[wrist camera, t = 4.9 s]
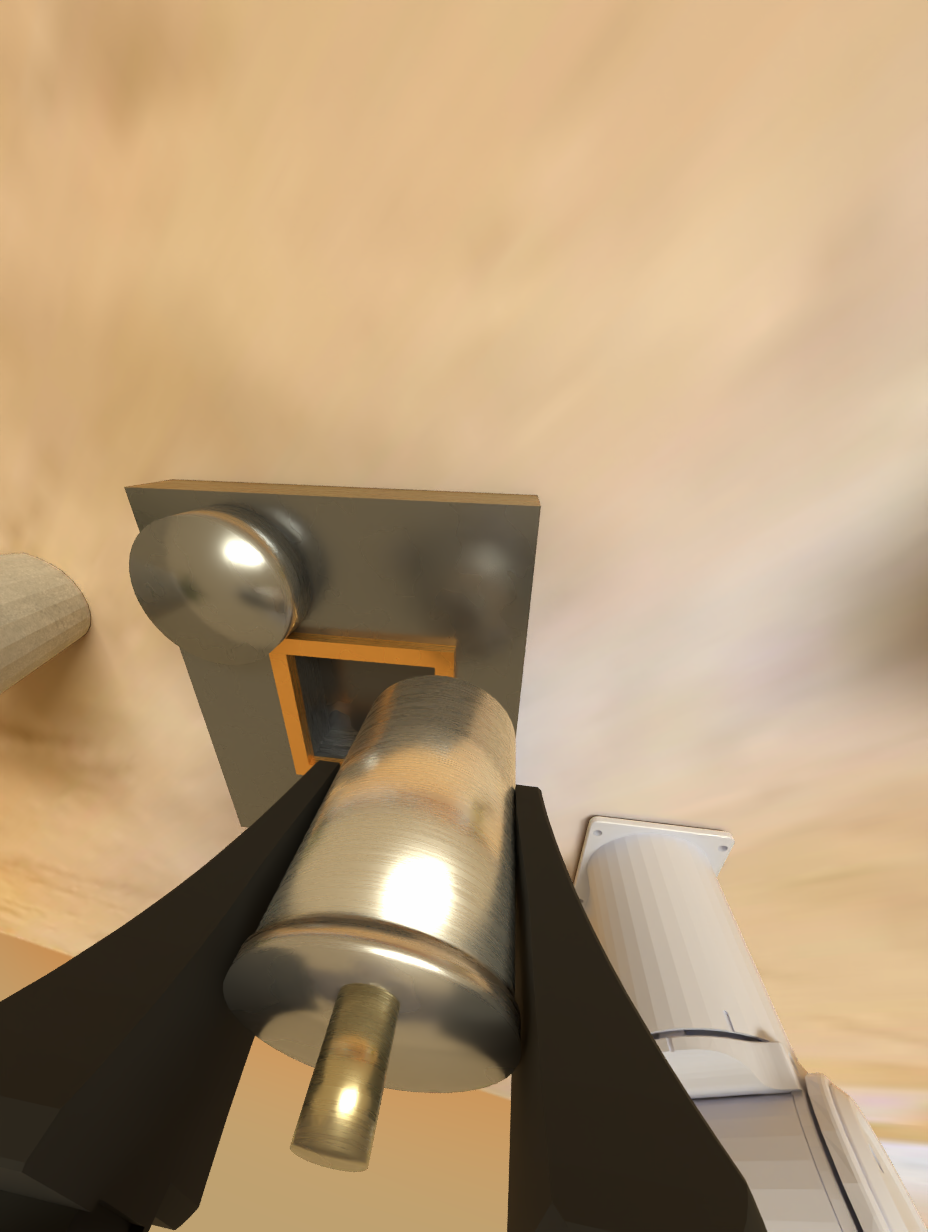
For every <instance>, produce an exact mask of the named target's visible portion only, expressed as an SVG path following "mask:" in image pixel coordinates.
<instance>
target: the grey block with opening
mask: <svg viewBox="0 0 928 1232" xmlns="http://www.w3.org/2000/svg"><path fill="white" fill-rule="evenodd" d="M125 490H126V493H127V496H128V499H129V502H130V505H131V508H132V511H133V514H134V517H135V519H136V522H137V525H138V528H139V531H140V533H139V535H138V536H137V537H136V539H135V541H134V543H133V545H132V549H131V552H130V559H129V572H130V578H131V583H132V586H133V589H134V592H135V594H136V597H137V599H138V601H139V603H140V605H141V606H142V608H143V610H144V611H145V613H146V614H147V616H148V617H149V619H150V620H151V621H152V622H153V623H154V625H155V626H156V627H157V628H158V629H159V630H160V631H161V632H162V633H163V634H164V635H165V636H166V637H167V638H169V639H170V640H171V641H172V642H173V643H175V644H176V645H178V646H179V647H180V650H181V653H182V656H183V659H184V662H185V664H186V667H187V670H188V673H189V676H190V679H191V682H192V685H193V688H194V691H195V694H196V696H197V699H198V702H199V705H200V708H201V711H202V714H203V717H204V720H205V723H206V725H207V728H208V731H209V734H210V737H211V740H212V743H213V746H214V749H215V752H216V754H217V757H218V760H219V763H220V766H221V769H222V772H223V775H224V778H225V781H226V783H227V786H228V789H229V792H230V795H231V798H232V801H233V804H234V807H235V810H236V812H237V815H238V818H239V821H240V824H241V827H250V826H251V825H252V824H253V823H254V822H255V821H256V820H258V819H259V818H260V817H261V816H262V815H263V814H264V813H265V812H266V811H267V810H268V809H269V808H270V807H271V806H273V805H274V804H275V803H276V802H277V801H278V800H279V799H280V798H281V797H282V796H283V795H284V794H285V793H286V792H287V791H288V790H289V789H290V788H291V787H292V786H293V785H294V784H295V783H296V782H297V781H298V780H299V779H300V778H301V777H302V776H303V775H304V774H305V773H306V772H307V771H308V770H309V769H310V768H311V767H312V766H313V765H314V764H315V763H316V762H318V761H319V760H323V761H331V762H339V763H340V767H341V765H342V763H343V761H344V759H345V757H346V755H347V753H348V752H349V750H350V748H351V746H352V744H353V742H354V740H355V738H356V736H357V734H358V732H359V730H360V728H361V726H362V724H363V722H364V721H365V719H366V717H367V715H368V713H369V711H370V709H371V707H372V705H373V703H374V702H375V700H376V699H377V697H378V696H379V695H380V694H381V693H382V692H383V691H384V690H386V689H387V688H388V687H390V686H391V685H393V684H395V683H397V682H399V681H402V680H404V679H407V678H411V677H416V676H423V675H440V676H448V677H453V678H457V679H460V680H463V681H466V682H469V683H471V684H473V685H475V686H477V687H479V688H481V689H482V690H484V691H486V692H487V693H488V694H490V695H491V696H492V697H493V698H495V699H496V700H497V701H498V702H499V703H500V705H501V706H502V707H503V708H504V710H505V711H506V712H507V714H508V716H509V718H510V719H511V722H512V724H513V727H514V731H515V739H516V730H517V721H518V712H519V702H520V693H521V684H522V675H523V665H524V656H525V647H526V638H527V628H528V619H529V610H530V601H531V591H532V582H533V573H534V564H535V554H536V545H537V536H538V527H539V517H540V508H541V506H540V502H539V499H538V496H537V495H519V494H496V493H473V492H450V491H427V490H404V489H381V488H358V487H335V486H312V485H289V484H266V483H243V482H220V481H197V480H174V479H172V480H166V481H160V482H153V483H147V484H141V485H134V486H128V487H125Z"/></svg>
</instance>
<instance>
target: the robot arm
mask: <svg viewBox="0 0 928 1232" xmlns="http://www.w3.org/2000/svg"><path fill="white" fill-rule="evenodd" d="M339 769H340V763H339V762H331V761H323V760H319V761H318V762H316V763H315V764H314V765H313V766H312V767H311V768H310V769H309V770H308V771H307V772H306V773H305V774H304V775H303V776H302V777H301V778H300V779H299V780H298V781H297V782H296V783H295V784H294V785H293V786H292V787H291V788H290V789H289V790H288V791H287V792H286V793H285V794H284V795H283V796H282V797H281V798H280V799H279V800H278V801H277V802H276V803H275V804H274V805H273V806H271V807H270V808H269V809H268V810H267V811H266V812H265V813H264V814H263V815H262V816H261V817H260V818H259V819H258V820H256V821H255V822H254V823H253V824H252V825H251V826H250V827H249V828H248V829H247V830H245V831H244V832H243V833H242V834H241V835H240V836H239V837H237V838H236V839H235V840H234V841H233V842H232V843H230V844H229V845H228V846H227V847H226V848H225V849H224V850H222V851H221V852H220V853H219V854H218V855H216V856H215V857H214V858H213V859H212V860H210V861H209V862H208V863H207V864H206V865H204V866H203V867H202V868H201V869H199V870H198V871H197V872H196V873H194V874H193V875H192V876H190V877H189V878H188V879H187V880H185V881H184V882H183V883H181V884H180V885H179V886H177V887H176V888H175V889H173V890H172V891H171V892H169V893H168V894H167V895H165V896H164V897H163V898H161V899H160V900H158V901H157V902H156V903H154V904H153V905H151V906H150V907H149V908H147V909H146V910H145V911H143V912H142V913H140V914H139V915H138V916H136V917H135V918H133V919H132V920H130V921H129V922H127V923H126V924H125V925H123V926H122V927H120V928H119V929H117V930H116V931H114V932H113V933H111V934H110V935H108V936H106V937H105V938H103V939H102V940H100V941H99V942H97V943H96V944H94V945H93V946H91V947H89V948H88V949H86V950H85V951H83V952H82V953H80V954H79V955H77V956H76V957H74V958H72V959H71V960H69V961H68V962H66V963H65V964H63V965H62V966H60V967H58V968H57V969H55V970H54V971H52V972H50V973H49V974H47V975H46V976H44V977H42V978H40V979H38V980H37V981H35V982H33V983H32V984H30V985H28V986H26V987H25V988H23V989H21V990H20V991H18V992H16V993H14V994H13V995H11V996H9V997H8V998H6V999H4V1000H2V1001H1V1002H0V1232H148V1231H149V1229H150V1227H151V1225H156V1226H160V1227H164V1228H168V1229H172V1230H176V1229H177V1228H178V1227H179V1226H181V1225H182V1224H183V1223H184V1222H185V1221H186V1220H187V1219H188V1218H189V1217H190V1216H191V1215H192V1214H193V1213H194V1212H195V1211H196V1210H197V1208H198V1207H199V1205H200V1202H201V1198H202V1195H203V1191H204V1188H205V1185H206V1182H207V1179H208V1176H209V1172H210V1169H211V1166H212V1163H213V1160H214V1157H215V1154H216V1150H217V1147H218V1144H219V1141H220V1138H221V1135H222V1132H223V1128H224V1125H225V1122H226V1119H227V1116H228V1113H229V1110H230V1107H231V1104H232V1101H233V1098H234V1095H235V1092H236V1089H237V1086H238V1083H239V1080H240V1077H241V1074H242V1071H243V1068H244V1066H245V1063H246V1060H247V1057H248V1054H249V1051H250V1048H251V1045H252V1042H253V1039H254V1037H255V1035H254V1034H253V1033H251V1032H250V1031H249V1030H248V1029H247V1028H246V1027H245V1026H243V1025H242V1023H241V1022H240V1021H239V1020H238V1019H237V1018H236V1017H235V1016H234V1014H233V1013H232V1012H231V1010H230V1009H229V1007H228V1005H227V1003H226V1001H225V998H224V993H223V982H224V979H225V977H226V975H227V973H228V971H229V969H230V967H231V965H232V963H233V961H234V959H235V957H236V956H237V954H238V952H239V950H240V948H241V946H242V944H243V943H244V942H245V941H246V940H247V938H248V937H250V936H251V935H252V934H254V933H255V932H256V930H257V928H258V926H259V924H260V922H261V920H262V918H263V916H264V914H265V912H266V910H267V908H268V906H269V905H270V903H271V901H272V899H273V897H274V895H275V893H276V891H277V889H278V887H279V885H280V883H281V881H282V879H283V877H284V875H285V874H286V872H287V870H288V868H289V866H290V864H291V862H292V860H293V858H294V856H295V854H296V852H297V850H298V848H299V846H300V844H301V843H302V841H303V839H304V837H305V835H306V833H307V831H308V829H309V827H310V825H311V823H312V821H313V819H314V817H315V815H316V813H317V812H318V810H319V808H320V806H321V804H322V802H323V800H324V798H325V796H326V794H327V792H328V790H329V788H330V786H331V784H332V783H333V781H334V779H335V777H336V775H337V773H338V771H339ZM734 842H735V841H734V839H733V837H732V835H731V834H730V833H729V832H725V831H718V830H710V829H701V828H693V827H685V826H676V825H668V824H660V823H651V822H643V821H635V820H626V819H618V818H610V817H601V816H595V817H593V818H591V819H590V821H589V824H588V828H587V833H586V837H585V841H584V845H583V849H582V853H581V857H580V861H579V865H578V869H577V873H576V877H575V881H574V885H573V883H572V881H571V878H570V876H569V873H568V871H567V868H566V866H565V863H564V861H563V858H562V856H561V853H560V851H559V848H558V845H557V843H556V840H555V837H554V834H553V831H552V828H551V825H550V822H549V819H548V816H547V812H546V809H545V805H544V801H543V797H542V792H541V790H540V789H539V788H538V787H531V786H523V785H516V787H515V1001H516V1002H517V1004H518V1007H519V1011H520V1014H521V1058H520V1062H519V1065H518V1066H517V1068H516V1069H515V1070H514V1072H513V1073H512V1079H511V1120H510V1122H511V1123H510V1159H509V1193H508V1224H507V1232H928V1229H927V1227H926V1225H925V1223H924V1222H923V1220H922V1218H921V1216H920V1214H919V1212H918V1210H917V1208H916V1206H915V1205H914V1203H913V1201H912V1199H911V1197H910V1195H909V1193H908V1191H907V1190H906V1188H905V1186H904V1184H903V1182H902V1180H901V1179H900V1177H899V1175H898V1173H897V1171H896V1170H895V1168H894V1166H893V1164H892V1162H891V1161H890V1159H889V1157H888V1155H887V1153H886V1152H885V1150H884V1148H883V1146H882V1145H881V1143H880V1141H879V1139H878V1138H877V1136H876V1134H875V1133H874V1131H873V1129H872V1128H871V1126H870V1124H869V1123H868V1121H867V1119H866V1118H865V1116H864V1115H863V1113H862V1112H861V1110H860V1109H859V1107H858V1106H857V1104H856V1103H855V1102H854V1100H853V1099H852V1098H851V1097H850V1096H849V1095H847V1094H846V1093H845V1092H843V1091H842V1090H841V1089H840V1088H838V1087H837V1086H836V1085H834V1084H833V1083H832V1082H831V1080H830V1079H829V1078H828V1077H827V1076H825V1075H824V1074H822V1073H811V1074H808V1073H807V1071H806V1070H805V1069H804V1068H803V1067H802V1066H801V1064H800V1063H799V1062H798V1060H797V1058H796V1055H795V1053H794V1051H793V1049H792V1046H791V1044H790V1042H789V1040H788V1037H787V1035H786V1033H785V1031H784V1028H783V1026H782V1024H781V1022H780V1019H779V1017H778V1015H777V1013H776V1010H775V1008H774V1006H773V1004H772V1001H771V999H770V997H769V995H768V992H767V990H766V988H765V986H764V983H763V981H762V979H761V976H760V974H759V972H758V970H757V967H756V965H755V963H754V961H753V958H752V956H751V954H750V952H749V949H748V947H747V945H746V943H745V940H744V938H743V936H742V934H741V931H740V929H739V927H738V925H737V922H736V920H735V918H734V916H733V913H732V911H731V909H730V907H729V904H728V902H727V900H726V898H725V895H724V893H723V891H722V889H721V886H720V884H719V882H718V880H717V876H718V874H719V872H720V870H721V868H722V866H723V864H724V862H725V860H726V858H727V857H728V855H729V853H730V851H731V849H732V847H733V845H734Z"/></svg>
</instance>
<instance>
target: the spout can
mask: <svg viewBox="0 0 928 1232" xmlns="http://www.w3.org/2000/svg"><path fill="white" fill-rule="evenodd" d="M515 764H516V742H515V731H514V727H513V724H512V722H511V719H510V718H509V716H508V714H507V712H506V711H505V710H504V708H503V707H502V706H501V705H500V703H499V702H498V701H497V700H496V699H495V698H493V697H492V696H491V695H490V694H488V693H487V692H486V691H484V690H482V689H481V688H479V687H477V686H475V685H473V684H471V683H469V682H466V681H463V680H460V679H457V678H453V677H448V676H440V675H423V676H416V677H411V678H407V679H404V680H402V681H399V682H397V683H395V684H393V685H391V686H390V687H388V688H387V689H386V690H384V691H383V692H382V693H381V694H380V695H379V696H378V697H377V699H376V700H375V702H374V703H373V705H372V707H371V709H370V711H369V713H368V715H367V717H366V719H365V721H364V722H363V724H362V726H361V728H360V730H359V732H358V734H357V736H356V738H355V740H354V742H353V744H352V746H351V748H350V750H349V752H348V753H347V755H346V757H345V759H344V761H343V763H342V765H341V767H340V769H339V771H338V773H337V775H336V777H335V779H334V781H333V783H332V784H331V786H330V788H329V790H328V792H327V794H326V796H325V798H324V800H323V802H322V804H321V806H320V808H319V810H318V812H317V813H316V815H315V817H314V819H313V821H312V823H311V825H310V827H309V829H308V831H307V833H306V835H305V837H304V839H303V841H302V843H301V844H300V846H299V848H298V850H297V852H296V854H295V856H294V858H293V860H292V862H291V864H290V866H289V868H288V870H287V872H286V874H285V875H284V877H283V879H282V881H281V883H280V885H279V887H278V889H277V891H276V893H275V895H274V897H273V899H272V901H271V903H270V905H269V906H268V908H267V910H266V912H265V914H264V916H263V918H262V920H261V922H260V924H259V926H258V928H257V930H256V932H255V933H254V934H252V935H251V936H250V937H248V938H247V940H246V941H245V942H244V943H243V944H242V946H241V948H240V950H239V952H238V954H237V956H236V957H235V959H234V961H233V963H232V965H231V967H230V969H229V971H228V973H227V975H226V977H225V979H224V982H223V993H224V998H225V1001H226V1003H227V1005H228V1007H229V1009H230V1010H231V1012H232V1013H233V1014H234V1016H235V1017H236V1018H237V1019H238V1020H239V1021H240V1022H241V1023H242V1025H243V1026H245V1027H246V1028H247V1029H248V1030H249V1031H250V1032H251V1033H253V1034H254V1035H255V1036H257V1037H258V1038H260V1039H261V1040H262V1041H264V1042H265V1043H267V1044H268V1045H270V1046H272V1047H273V1048H275V1049H276V1050H278V1051H280V1052H282V1053H284V1054H286V1055H287V1056H289V1057H291V1058H293V1059H296V1060H298V1061H300V1062H302V1063H304V1064H307V1065H309V1066H311V1067H314V1068H315V1069H314V1072H313V1075H312V1078H311V1081H310V1085H309V1088H308V1091H307V1094H306V1097H305V1101H304V1104H303V1107H302V1110H301V1113H300V1117H299V1120H298V1123H297V1126H296V1129H295V1132H294V1136H293V1139H292V1142H291V1145H290V1149H291V1151H292V1152H293V1153H294V1154H296V1155H297V1156H299V1157H301V1158H303V1159H305V1160H307V1161H309V1162H312V1163H315V1164H317V1165H320V1166H324V1167H327V1168H332V1169H337V1170H342V1171H349V1172H361V1171H365V1170H366V1169H368V1164H369V1159H370V1155H371V1150H372V1145H373V1140H374V1134H375V1129H376V1124H377V1120H378V1115H379V1109H380V1105H381V1100H382V1095H383V1090H384V1088H389V1089H395V1090H402V1091H411V1092H424V1093H452V1092H464V1091H470V1090H476V1089H480V1088H484V1087H488V1086H490V1085H493V1084H496V1083H498V1082H500V1081H502V1080H503V1079H505V1078H507V1077H508V1076H509V1075H510V1074H512V1073H513V1072H514V1070H515V1069H516V1068H517V1066H518V1065H519V1062H520V1058H521V1014H520V1011H519V1007H518V1004H517V1002H516V1001H515Z"/></svg>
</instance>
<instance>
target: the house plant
mask: <svg viewBox="0 0 928 1232" xmlns="http://www.w3.org/2000/svg"><path fill="white" fill-rule="evenodd" d="M90 619H91V615H90V611H89V607H88V604H87V602H86V600H85V598H84V596H83V594H82V593H81V591H80V590H79V589H78V587H77V586H76V585H75V584H74V582H73V581H72V580H71V579H70V578H69V577H68V576H67V575H66V574H64V573H63V572H62V571H61V570H59V569H58V568H56V567H54V566H53V565H51V564H49V563H47V562H45V561H43V560H41V559H39V558H37V557H34V556H31V555H28V554H25V553H12V554H3V555H0V694H1V693H3V692H4V691H6V690H7V689H9V688H10V687H11V686H13V685H14V684H16V683H17V682H19V681H20V680H21V679H23V678H24V677H26V676H27V675H28V674H30V673H31V672H33V671H34V670H36V669H37V668H38V667H40V666H41V665H43V664H44V663H46V662H47V661H48V660H50V659H51V658H53V657H54V656H56V655H57V654H58V653H60V652H61V651H63V650H64V649H66V648H67V647H68V646H70V645H71V644H73V643H74V642H76V641H77V640H78V639H80V638H81V637H82V636H84V635H85V634H86V633H87V631H88V629H89V627H90Z"/></svg>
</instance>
